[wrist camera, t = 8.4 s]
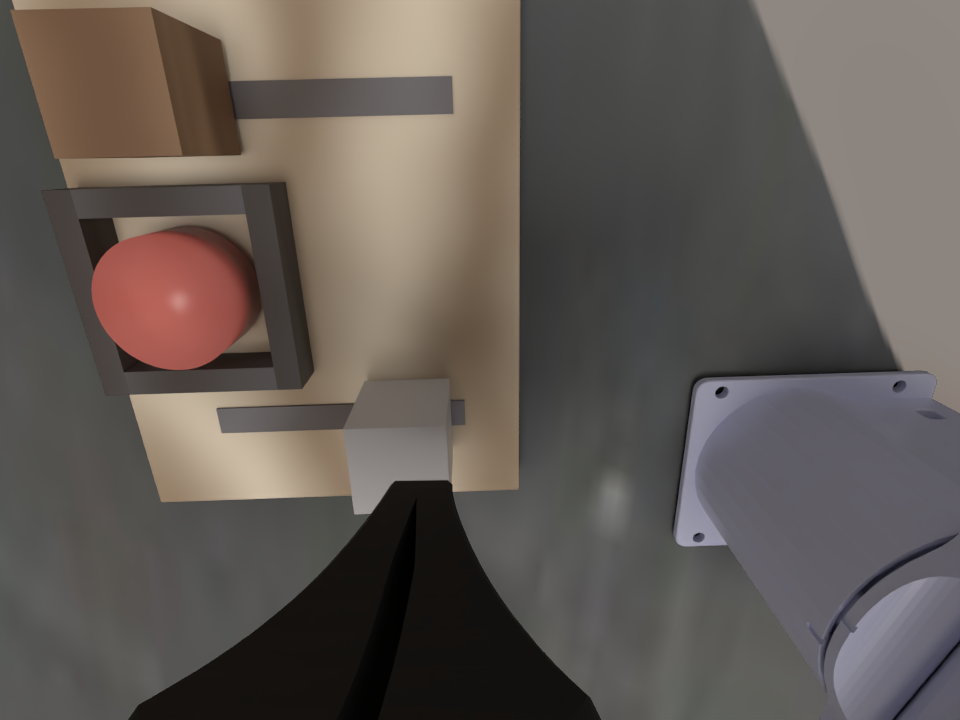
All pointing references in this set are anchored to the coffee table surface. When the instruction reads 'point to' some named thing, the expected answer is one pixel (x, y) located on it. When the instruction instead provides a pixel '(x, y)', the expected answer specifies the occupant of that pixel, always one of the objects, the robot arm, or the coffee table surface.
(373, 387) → the grey slider
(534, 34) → the coffee table surface
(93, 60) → the walnut slider
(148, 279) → the red push button
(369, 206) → the control panel
